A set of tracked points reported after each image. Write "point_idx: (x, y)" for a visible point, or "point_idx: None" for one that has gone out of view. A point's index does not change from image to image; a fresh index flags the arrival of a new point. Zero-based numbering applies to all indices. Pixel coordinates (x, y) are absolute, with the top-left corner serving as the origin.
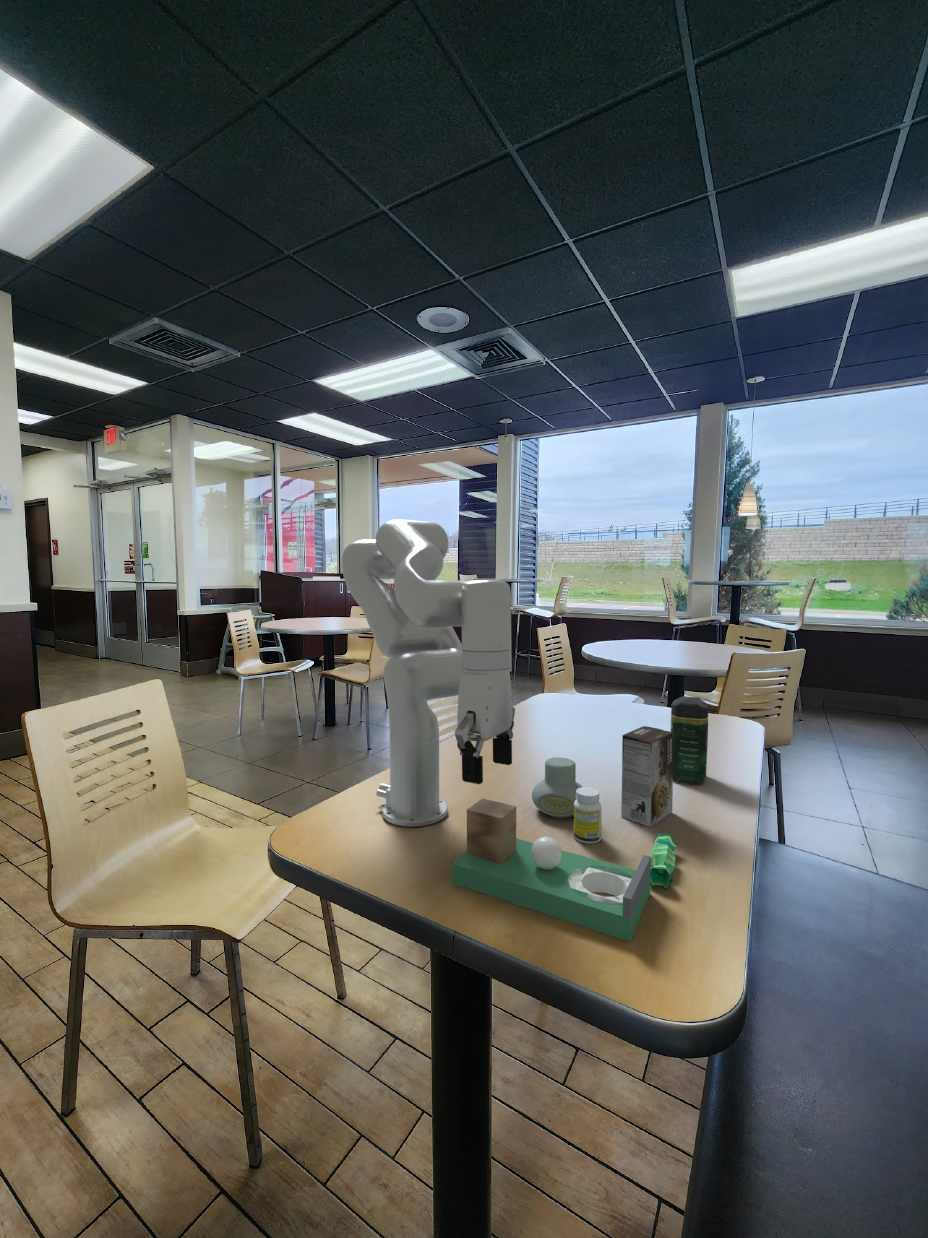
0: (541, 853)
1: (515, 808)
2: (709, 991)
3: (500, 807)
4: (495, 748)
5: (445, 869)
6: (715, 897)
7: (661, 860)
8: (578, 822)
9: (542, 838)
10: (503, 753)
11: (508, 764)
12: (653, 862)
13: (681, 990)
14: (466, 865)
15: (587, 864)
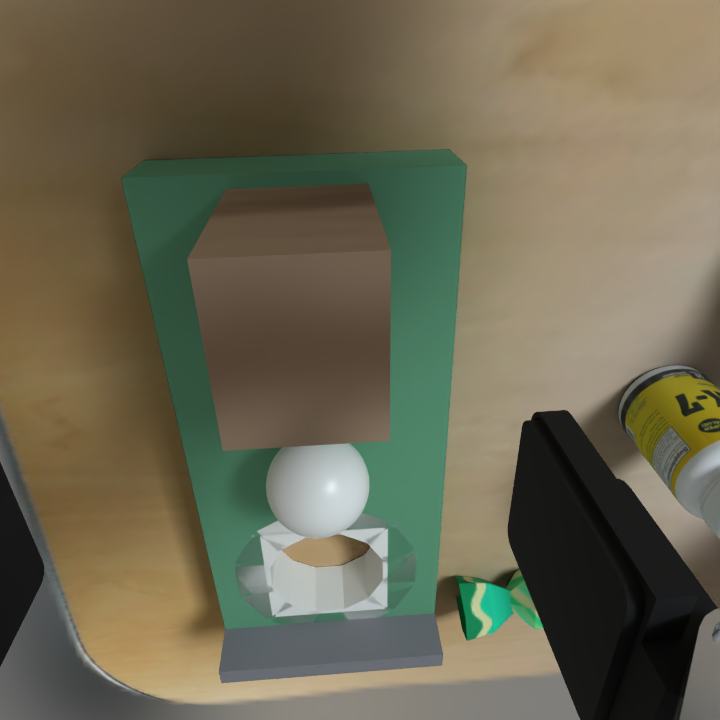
0: (270, 502)
1: (378, 437)
2: (199, 684)
3: (331, 391)
4: (573, 537)
5: (204, 72)
6: (475, 652)
7: (523, 615)
8: (659, 429)
9: (313, 511)
10: (543, 571)
11: (510, 531)
12: (520, 595)
13: (172, 663)
14: (150, 238)
15: (401, 521)
